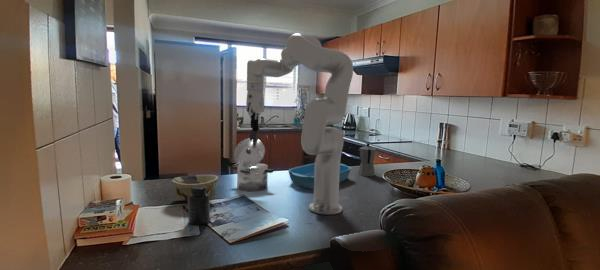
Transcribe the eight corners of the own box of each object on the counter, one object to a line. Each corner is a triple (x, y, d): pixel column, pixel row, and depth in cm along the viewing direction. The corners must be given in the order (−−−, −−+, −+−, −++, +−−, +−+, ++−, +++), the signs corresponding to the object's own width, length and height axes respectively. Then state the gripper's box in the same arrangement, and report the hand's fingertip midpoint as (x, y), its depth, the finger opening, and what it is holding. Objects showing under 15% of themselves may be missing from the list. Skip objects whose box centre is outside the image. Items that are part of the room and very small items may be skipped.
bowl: (226, 196, 137) (226, 174, 136) (202, 210, 120) (202, 185, 118) (189, 192, 141) (189, 170, 140) (161, 205, 124) (161, 180, 123)
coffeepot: (357, 171, 191) (358, 141, 189) (373, 172, 190) (375, 141, 188) (359, 178, 176) (361, 145, 174) (377, 178, 175) (379, 145, 173)
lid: (260, 169, 142) (258, 167, 140) (230, 166, 146) (228, 164, 144) (271, 129, 151) (269, 127, 149) (242, 127, 155) (241, 125, 154)
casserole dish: (315, 194, 145) (316, 178, 144) (279, 184, 160) (279, 170, 159) (357, 179, 173) (358, 166, 173) (323, 172, 188) (324, 160, 187)
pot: (264, 194, 142) (264, 171, 141) (224, 189, 148) (224, 167, 146) (277, 185, 156) (277, 165, 155) (240, 181, 162) (240, 161, 161)
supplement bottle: (202, 216, 114) (201, 183, 113) (213, 221, 110) (213, 186, 108) (184, 221, 109) (183, 186, 107) (195, 227, 104) (195, 191, 103)
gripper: (255, 87, 141) (255, 129, 143) (269, 88, 155) (268, 127, 157) (240, 87, 143) (239, 128, 145) (254, 88, 157) (254, 126, 159)
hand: (254, 127), depth 151 cm, fingers closed
